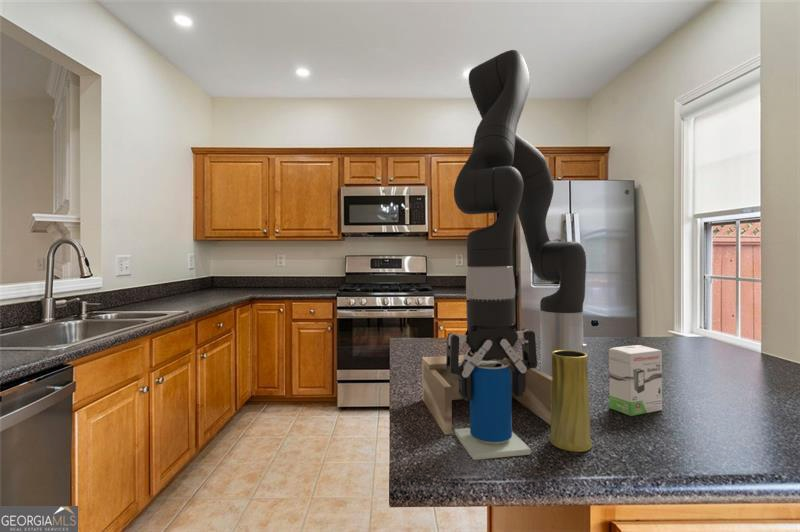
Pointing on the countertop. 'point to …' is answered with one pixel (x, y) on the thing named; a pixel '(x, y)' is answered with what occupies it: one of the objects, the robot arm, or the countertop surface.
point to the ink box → (635, 379)
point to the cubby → (445, 388)
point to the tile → (491, 446)
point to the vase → (570, 401)
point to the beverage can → (491, 402)
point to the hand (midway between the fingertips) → (492, 397)
